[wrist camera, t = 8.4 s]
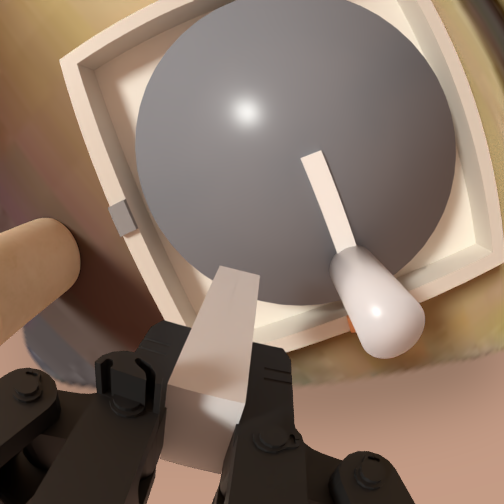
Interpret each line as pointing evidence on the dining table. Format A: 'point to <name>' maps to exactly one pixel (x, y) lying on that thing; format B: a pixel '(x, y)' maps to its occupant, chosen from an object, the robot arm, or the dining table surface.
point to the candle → (34, 270)
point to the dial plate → (168, 258)
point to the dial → (301, 157)
